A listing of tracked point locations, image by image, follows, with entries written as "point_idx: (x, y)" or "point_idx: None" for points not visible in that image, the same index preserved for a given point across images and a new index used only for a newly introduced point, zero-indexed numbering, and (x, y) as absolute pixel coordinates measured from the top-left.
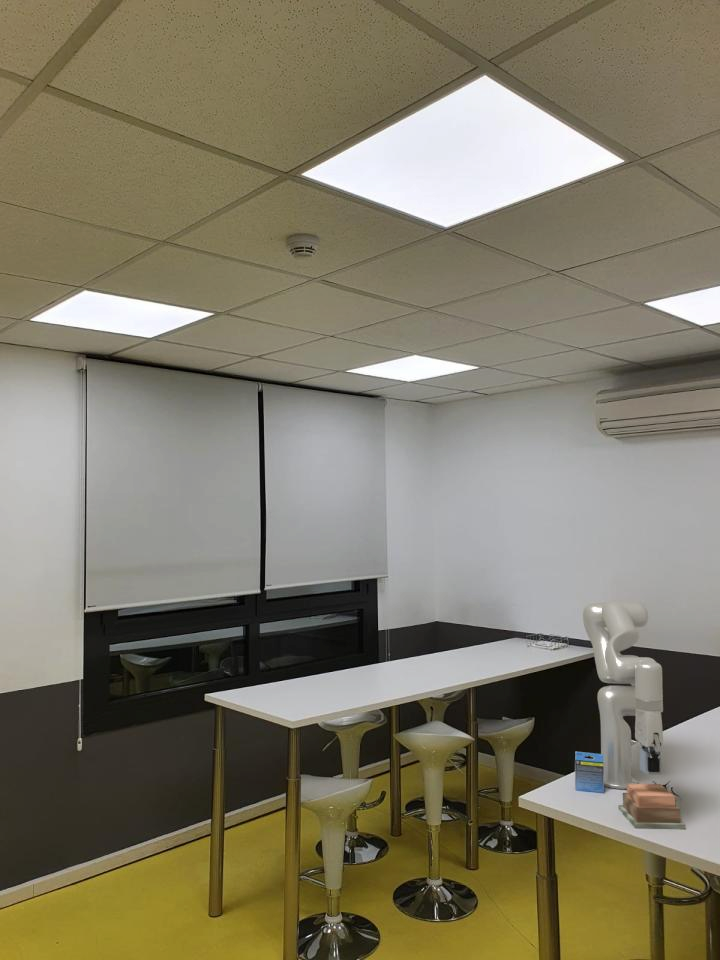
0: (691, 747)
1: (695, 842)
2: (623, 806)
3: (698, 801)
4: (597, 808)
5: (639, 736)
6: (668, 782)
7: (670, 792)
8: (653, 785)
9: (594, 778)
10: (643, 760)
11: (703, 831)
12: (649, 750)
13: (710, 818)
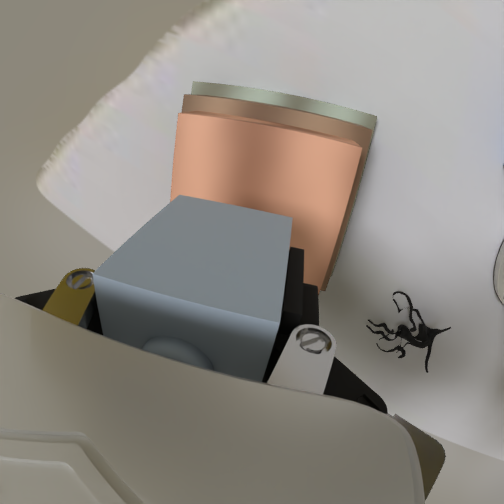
0: None
1: (105, 209)
2: (355, 123)
3: (356, 374)
4: (392, 46)
5: (110, 445)
6: (425, 363)
7: (392, 339)
8: (308, 263)
9: None
10: (176, 237)
11: None
12: (49, 312)
13: None
